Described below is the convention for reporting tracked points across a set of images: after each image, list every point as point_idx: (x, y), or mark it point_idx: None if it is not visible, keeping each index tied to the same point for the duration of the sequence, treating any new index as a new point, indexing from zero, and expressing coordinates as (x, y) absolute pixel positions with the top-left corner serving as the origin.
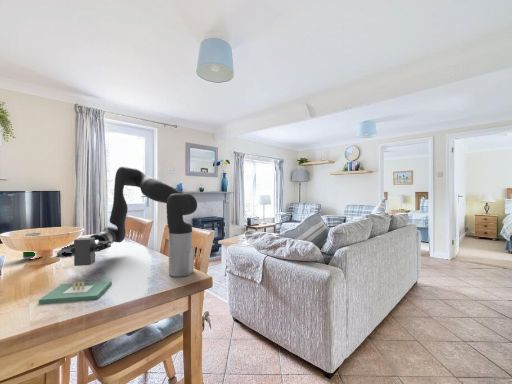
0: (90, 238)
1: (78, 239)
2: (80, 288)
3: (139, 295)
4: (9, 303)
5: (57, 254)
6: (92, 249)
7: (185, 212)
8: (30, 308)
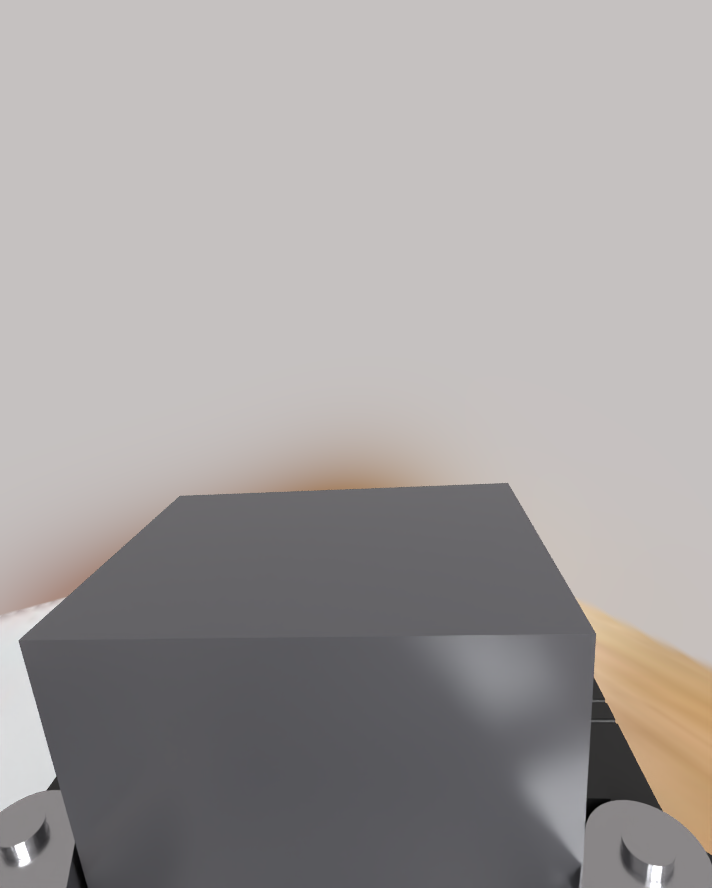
0: (174, 545)
1: (437, 503)
2: None
3: (7, 629)
4: (614, 631)
5: None
6: None
7: None
8: None
